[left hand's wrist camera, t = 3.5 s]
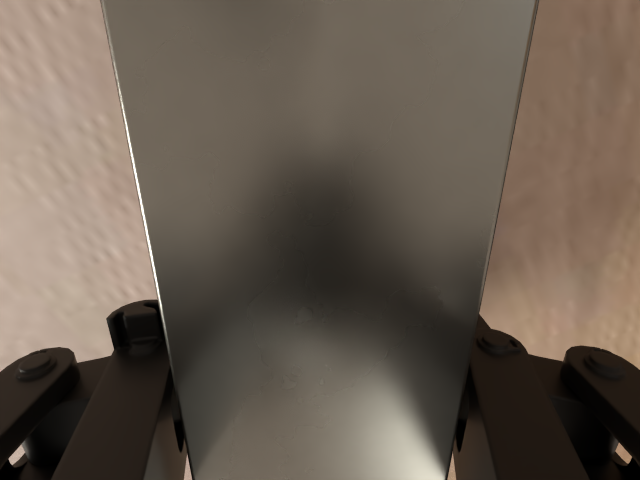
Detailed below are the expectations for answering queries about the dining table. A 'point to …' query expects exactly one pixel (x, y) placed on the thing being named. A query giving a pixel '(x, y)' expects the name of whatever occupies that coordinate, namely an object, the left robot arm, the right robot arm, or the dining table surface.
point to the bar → (319, 218)
